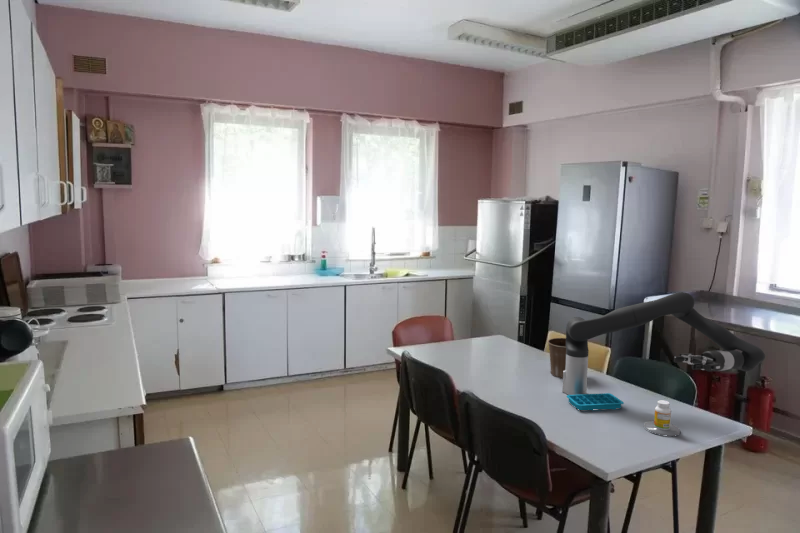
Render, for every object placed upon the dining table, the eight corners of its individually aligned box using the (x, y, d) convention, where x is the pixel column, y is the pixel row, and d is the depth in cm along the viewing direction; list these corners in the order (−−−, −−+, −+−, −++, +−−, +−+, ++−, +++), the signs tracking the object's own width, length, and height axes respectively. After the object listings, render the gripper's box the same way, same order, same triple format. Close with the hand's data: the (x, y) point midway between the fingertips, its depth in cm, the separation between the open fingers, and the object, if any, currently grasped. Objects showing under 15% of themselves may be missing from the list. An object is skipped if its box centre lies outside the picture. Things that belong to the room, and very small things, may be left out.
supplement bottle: (656, 423, 205) (657, 398, 204) (671, 426, 202) (673, 401, 200) (652, 427, 201) (653, 402, 200) (667, 431, 198) (669, 406, 196)
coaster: (639, 429, 201) (639, 427, 201) (650, 420, 210) (650, 418, 210) (674, 439, 193) (674, 437, 193) (684, 429, 202) (684, 427, 202)
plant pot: (574, 382, 252) (575, 348, 250) (540, 375, 261) (542, 342, 259) (585, 373, 264) (587, 341, 262) (553, 367, 274) (555, 336, 272)
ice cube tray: (624, 410, 220) (625, 403, 220) (577, 412, 217) (578, 405, 217) (609, 399, 231) (610, 393, 231) (565, 401, 229) (565, 395, 228)
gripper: (702, 345, 213) (669, 347, 208) (734, 356, 200) (700, 359, 195) (700, 364, 214) (667, 366, 209) (732, 376, 201) (697, 379, 196)
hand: (683, 363), depth 202 cm, fingers open, 8 cm apart
